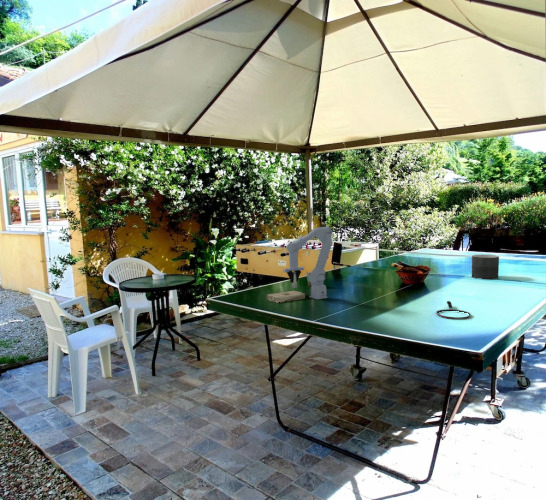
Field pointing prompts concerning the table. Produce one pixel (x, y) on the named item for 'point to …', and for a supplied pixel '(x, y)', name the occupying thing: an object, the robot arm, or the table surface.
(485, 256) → the planter
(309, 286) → the food container
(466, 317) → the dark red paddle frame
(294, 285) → the steel peg
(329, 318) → the table surface
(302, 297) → the hole block
